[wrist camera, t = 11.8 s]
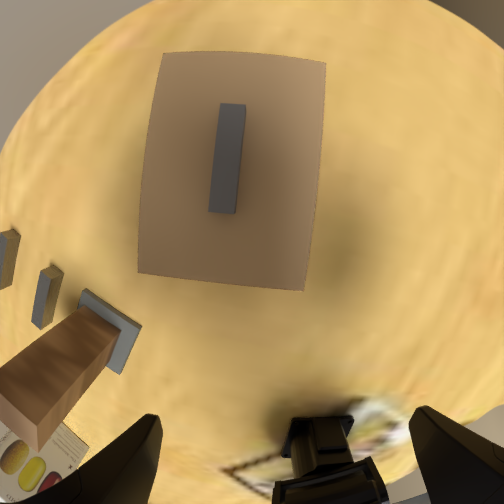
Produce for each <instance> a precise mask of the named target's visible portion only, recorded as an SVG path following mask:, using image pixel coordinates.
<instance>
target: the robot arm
mask: <svg viewBox="0 0 504 504" xmlns="http://www.w3.org/2000/svg"><path fill="white" fill-rule="evenodd" d="M349 420H350V421H349ZM295 422H297V423H295ZM353 423H354V418H353V417H352V416H343V417H318V418H293V419H292V420H291V422H290V425H289V429H288V432H287V436H286V439H285V442H284V446H283V449H282V452H281V456H282V457H283V458H291V460H292V469H293V477H294V479H290V480H285V481H281V480H280V481H275V487H274V488H273V495H272V504H390V502H389V498H388V493H387V490H386V487H385V484H384V482H383V480H382V478H381V476H380V474H379V472H378V470H377V468H376V466H375V464H374V462H373V460H372V458H371V456H369V457H366V458H365V459H363V460H361V461H358V462H355V463H354V461H353V458H352V455H351V451H350V448H349V444H348V441H347V439H346V438H347V436H348V434H349V432H350V429H351V427H352V425H353ZM409 431H410V435H411V439H412V443H413V447H414V451H415V455H416V459H417V462H418V465H419V468H420V470H421V474H422V477H423V480H424V483H425V486H426V489H427V492H428V495H429V499H430V502H431V504H504V448H503V447H501V446H499V445H497V444H495V443H493V442H491V441H489V440H487V439H485V438H484V437H482V436H480V435H478V434H476V433H475V432H473V431H471V430H469V429H467V428H465V427H464V426H462V425H460V424H459V423H457V422H455V421H453V420H451V419H450V418H448V417H446V416H445V415H443V414H441V413H439V412H438V411H436V410H434V409H433V408H431V407H429V406H427V405H424V406H420V407H418V408H416V410H415V412H414V414H413V415H412V417H411V419H410V421H409ZM162 437H163V429H162V425H161V421H160V418H159V416H158V415H154V414H145V415H144V416H143V417H142V418H140V419H139V420H138V421H137V422H136V423H134V424H133V425H132V426H131V427H130V428H128V429H127V430H126V431H125V432H124V433H122V434H121V435H120V436H119V437H117V438H116V439H115V440H114V441H112V442H111V443H110V444H109V445H107V446H106V447H105V448H104V449H102V450H101V451H100V452H99V453H97V454H96V455H95V456H93V457H92V458H91V459H90V460H88V461H87V462H86V463H84V464H83V465H82V466H80V467H79V468H78V469H76V470H75V471H74V472H72V473H71V474H70V475H68V476H67V477H65V478H64V479H62V480H61V481H59V482H58V483H56V484H54V485H52V486H50V487H49V488H47V489H45V490H43V491H41V492H39V493H37V494H35V495H33V496H31V497H28V498H26V499H24V500H21V501H18V502H12V503H4V502H0V504H147V503H148V499H149V496H150V493H151V489H152V486H153V483H154V479H155V476H156V472H157V467H158V461H159V455H160V449H161V443H162Z"/></svg>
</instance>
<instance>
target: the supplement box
mask: <svg viewBox="0 0 504 504" xmlns="http://www.w3.org/2000/svg"><path fill="white" fill-rule="evenodd" d="M88 449H89V447H88V446H87V445H86V444H85V443H83V442H82V441H81V440H80V439H79V438H78V437H77V436H76V435H75V434H74V433H73V432H72V431H71V430H70V429H69V428H68V427H66V426H65V425H64V424H63V423H62V422H61V423H60V425H59V426H58V427H57V429H56V430H55V431H54V433H53V434H52V435H51V437H50V438H49V439H48V441H47V442H46V444H45V445H44V446H43V448H42V449H41V450H40V452H39V453H37V452H36V451H35V450H34V449H32V448H31V447H30V446H29V445H27V444H26V443H25V442H24V441H23V440H21V439H20V438H19V437H18V436H17V435H16V434H15V433H13V432H12V431H11V430H10V429H9V430H8V432H7V433H6V434H5V435H4V436H3V437H2V438H1V440H0V502H4V503H12V502H18V501H21V500H24V499H26V498H28V497H31V496H33V495H35V494H37V493H39V492H41V491H43V490H45V489H47V488H49V487H50V486H52V485H54V484H56V483H58V482H59V481H61V480H62V479H64V478H65V477H67V476H68V475H70V474H71V473H72V472H74V471H75V470H76V469H77V467H78V466H79V464H80V462H81V461H82V459H83V457H84V456H85V454H86V453H87V451H88Z"/></svg>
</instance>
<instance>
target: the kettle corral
mask: <svg viewBox="0 0 504 504" xmlns="http://www.w3.org/2000/svg"><path fill="white" fill-rule="evenodd" d="M393 504H431V502H430V499H429V495H428V492H427V493H425V494H422V495H419V496H416V497H413V498H410V499H407V500H404V501H400V502H397V503H393Z"/></svg>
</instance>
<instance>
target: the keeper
mask: <svg viewBox="0 0 504 504" xmlns="http://www.w3.org/2000/svg"><path fill="white" fill-rule="evenodd" d="M20 237H21V236H20V235H19V234H18V233H17V232H16V231H15V230H14V229H13V230H9V231H4V232H1V233H0V290H2V289H4V288H6V287H8V286H10V285H12V279H13V273H14V267H15V261H16V256H17V251H18V246H19V242H20ZM63 275H64V273H63V272H62V271H60V270H59V269H58V268H57V267H55V266H54V265H53V266H50V267H48V268H46V269H43V270H41V271H40V275H39V280H38V285H37V290H36V295H35V301H34V306H33V313H32V320H31V322H32V323H33V324H34V325H36V326H37V327H38V328H39V329H40V330H42V329H43V328H44V327H46V326H47V325H49V324H50V323H52V320H53V315H54V310H55V306H56V302H57V298H58V293H59V290H60V286H61V282H62V278H63Z"/></svg>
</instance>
